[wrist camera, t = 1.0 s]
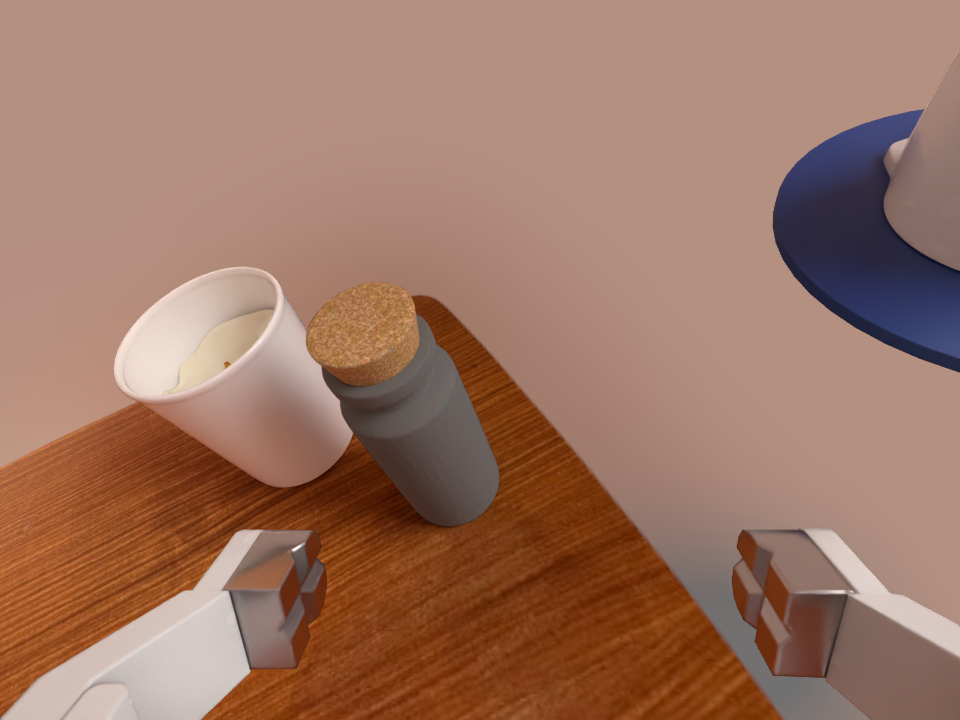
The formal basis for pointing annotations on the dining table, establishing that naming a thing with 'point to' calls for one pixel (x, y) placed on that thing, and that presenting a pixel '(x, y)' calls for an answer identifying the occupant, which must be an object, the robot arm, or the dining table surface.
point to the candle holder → (236, 376)
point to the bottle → (405, 401)
